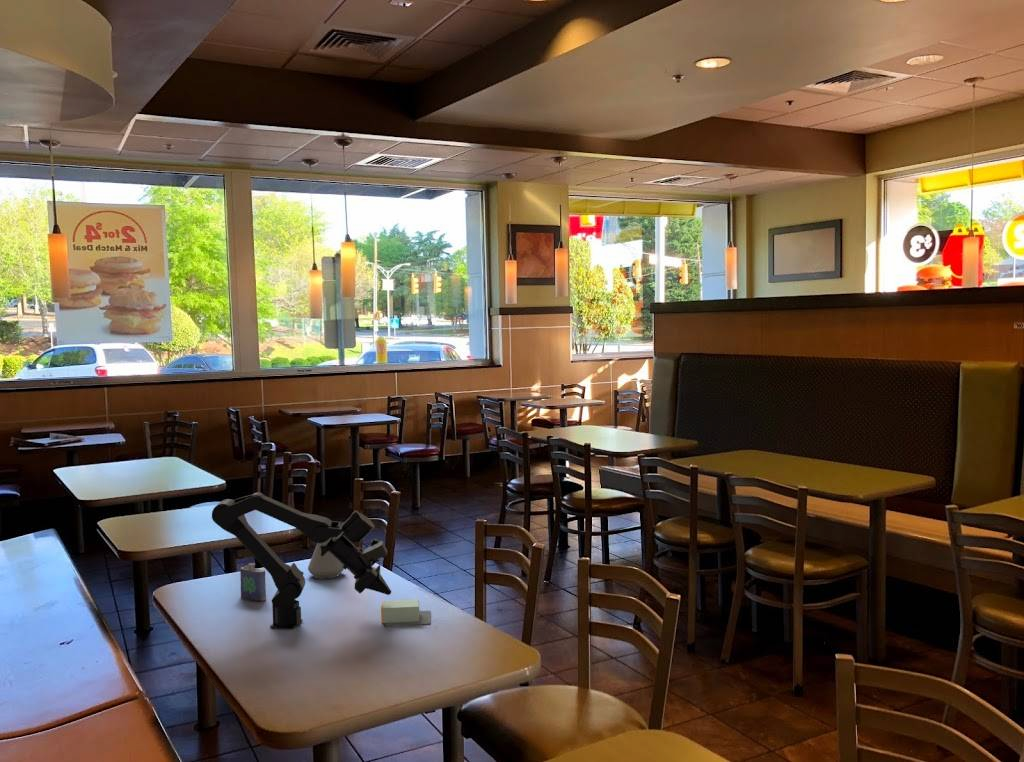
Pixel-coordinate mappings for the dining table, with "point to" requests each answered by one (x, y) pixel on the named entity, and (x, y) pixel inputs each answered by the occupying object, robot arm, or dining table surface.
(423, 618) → the mat
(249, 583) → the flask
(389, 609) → the block
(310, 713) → the dining table surface
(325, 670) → the dining table surface
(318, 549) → the coffee pot
